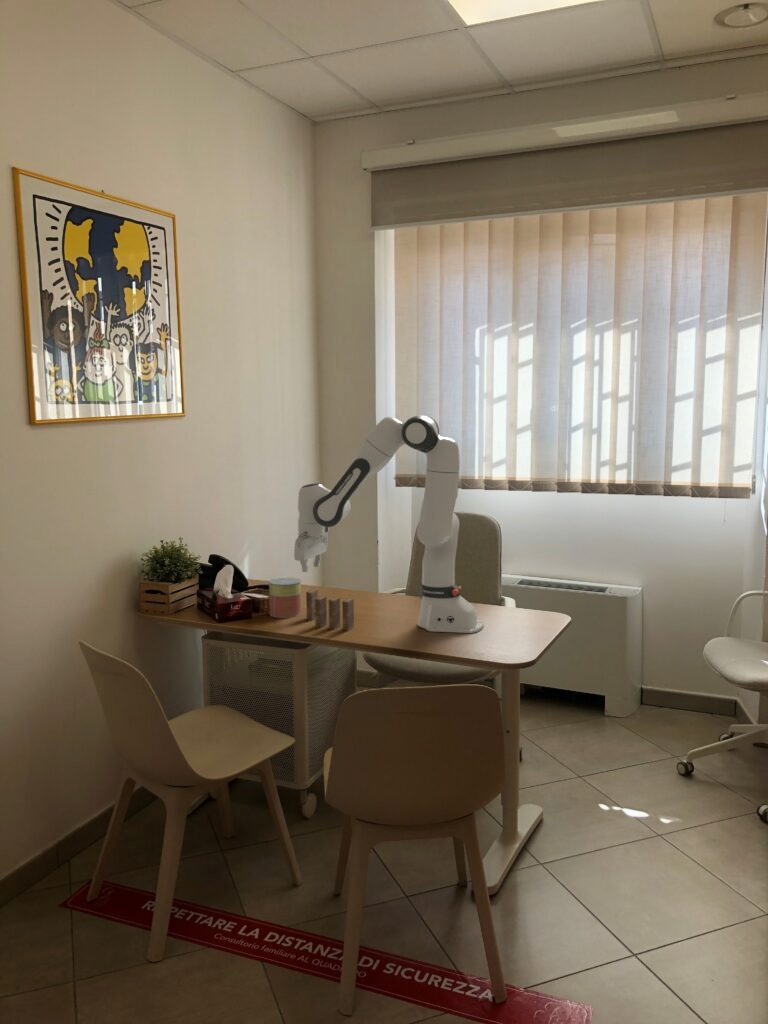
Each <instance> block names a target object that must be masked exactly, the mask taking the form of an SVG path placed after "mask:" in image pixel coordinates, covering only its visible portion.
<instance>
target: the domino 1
mask: <svg viewBox="0 0 768 1024" xmlns="http://www.w3.org/2000/svg"><path fill="white" fill-rule="evenodd" d="M318 590H319V589H315V588H314V589H313V588H311V589H310V590H308V591H306V595H305V596H306V597H305V598H306V599H305V600H306V601H305V602H306V621H314V620H315V599H316V598H318V597H319V596H318V594H319V593H318Z"/></svg>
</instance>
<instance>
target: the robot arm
mask: <svg viewBox="0 0 768 1024" xmlns="http://www.w3.org/2000/svg"><path fill="white" fill-rule="evenodd" d="M404 445H406V446H408V447H410V448H411V449H413V450H417V451H418V452H421V453H424V454H425V455H426V466H425V467H426V469H425V483H424V484H425V485H424V495H423V498H422V504H421V509H420V514H419V521H418V524H417V527H416V528H417V529H416V536H417V538H418V540H419V542H420V543H422V544H423V545H424V553H423V557H422V561H421V562H422V563H421V564H422V566H421V567H422V568H421V570H422V571H421V572H422V573H421V576H422V578H421V584H420V590H419V591H420V593H419V594H420V600H421V601H420V603H421V604H420V609H419V611H420V612H419V615H418V620H417V623H416V624H417V626H418V627H419V628H420V627H421V628H422V629H425V630H426V631H428V632H435V633H437V632H438V633H439V632H442V633H460V634H463V633H465V634H473V633H476V632H480V631H481V630H482V629H484V625H485V624H484V621H482V620H480V619H478V615H477V610H476V608H475V606H474V605H473V604H471V603H470V602H469V601H468V600H466V598H464V597H463V596H462V595H461V590H462V589H461V588H462V586H461V585H460V586H459V585H457V584H456V583H455V582H456V579H455V576H456V572H455V571H456V570H455V569H456V557H457V549H458V543H459V542H458V540H459V531H460V520H459V517H458V515H457V514H456V513H455V512H454V511H455V506H456V502H457V498H458V496H459V495H458V493H459V482H460V481H459V479H460V464H461V463H460V450H459V445H458V443H457V441H455V440H454V439H452V438H450V437H447V436H442V435H440V427H439V425H438V423H437V421H435V419H434V418H432V417H431V416H429V415H423V414H419V415H414V416H412V417H410V418H408V419H407V420H406V421H405V422H403V421H401V420H400V419H397V418H395V417H392V416H387V417H384V418H382V419H381V420H380V421H379V422H378V423H377V424H376V425H375V426H374V427H373V428H372V429H371V430H370V431H369V433H368V434H367V436H366V437H365V438H364V440H363V441H362V443H361V445H360V446H359V448H358V450H357V451H356V453H355V456H354V457H353V459H352V461H351V463H349V467H348V468H347V470H346V471H345V472H344V474H343V475H342V476H341V478H340V479H339V481H337V483H336V485H335V486H334V487H333V488H332V490H331V489H328V488H327V487H325V486H324V484H321V483H319V482H317V483H315V482H314V483H309V484H305V485H302V487H300V489H299V491H298V498H297V499H298V501H297V502H298V503H297V504H298V505H297V510H298V522H297V527H298V529H297V534H298V536H297V538H296V539H295V541H294V552H293V553H294V554H293V555H294V556H293V557H294V560H295V561H299V562H300V565H301V571H302V572H303V573H307V572H309V569H310V568H309V566H308V562H309V561H308V560H309V559H312V558H314V557H315V558H314V562H313V567H314V568H319V567H320V566H321V560H322V555H323V554H324V553H326V552H327V551H328V546H329V544H328V543H329V534H328V533H330V528H332V527H335V526H336V525H338V524H339V523H340V522H341V521H343V520H344V519H346V518H347V517H348V516H349V515H350V513H351V511H352V505H351V504H352V503H351V500H350V499H351V497H352V496H353V495H354V493H355V492H356V491H357V489H358V488H359V487H360V486H361V485H362V484H363V483H364V482H365V481H366V480H368V479H369V478H371V477H372V476H374V475H376V474H377V473H379V472H380V471H381V470H382V469H384V468H385V467H386V466H387V465H388V463H389V462H390V461H391V459H392V458H393V457H394V456H395V454H396V453H397V451H398V450H399V449H400V448H401V447H402V446H404Z"/></svg>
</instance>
